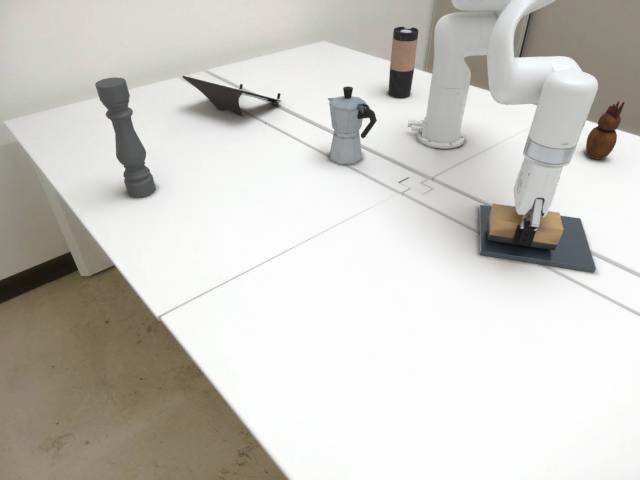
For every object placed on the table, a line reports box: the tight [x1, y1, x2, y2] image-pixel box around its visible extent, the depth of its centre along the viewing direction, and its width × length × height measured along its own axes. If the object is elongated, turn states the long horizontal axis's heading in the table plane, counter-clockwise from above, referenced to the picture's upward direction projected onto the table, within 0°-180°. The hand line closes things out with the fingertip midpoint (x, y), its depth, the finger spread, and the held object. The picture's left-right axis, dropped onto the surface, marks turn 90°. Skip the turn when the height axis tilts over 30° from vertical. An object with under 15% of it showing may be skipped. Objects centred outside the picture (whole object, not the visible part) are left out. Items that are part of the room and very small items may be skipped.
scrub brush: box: [487, 203, 564, 250], centre depth 86 cm, size 12×6×5 cm, turn 75°
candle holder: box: [94, 76, 157, 199], centre depth 97 cm, size 6×6×25 cm
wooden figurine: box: [585, 101, 626, 160], centre depth 112 cm, size 7×6×15 cm
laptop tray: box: [181, 75, 282, 117], centre depth 140 cm, size 23×23×9 cm
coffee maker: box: [327, 85, 378, 166], centre depth 111 cm, size 15×9×18 cm, turn 47°
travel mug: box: [388, 26, 419, 99], centre depth 144 cm, size 8×8×20 cm
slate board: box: [478, 204, 597, 273], centre depth 90 cm, size 20×16×1 cm
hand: (520, 233), depth 87 cm, fingers closed on scrub brush, 5 cm apart
